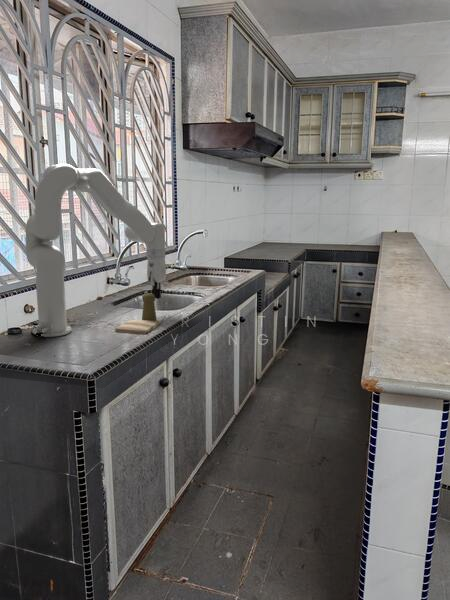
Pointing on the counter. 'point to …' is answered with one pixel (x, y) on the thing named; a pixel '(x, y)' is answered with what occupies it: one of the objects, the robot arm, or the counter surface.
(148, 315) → the olive pepper shaker
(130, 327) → the cutting board
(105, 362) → the counter surface
